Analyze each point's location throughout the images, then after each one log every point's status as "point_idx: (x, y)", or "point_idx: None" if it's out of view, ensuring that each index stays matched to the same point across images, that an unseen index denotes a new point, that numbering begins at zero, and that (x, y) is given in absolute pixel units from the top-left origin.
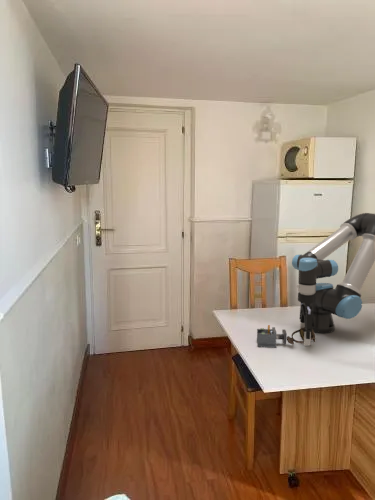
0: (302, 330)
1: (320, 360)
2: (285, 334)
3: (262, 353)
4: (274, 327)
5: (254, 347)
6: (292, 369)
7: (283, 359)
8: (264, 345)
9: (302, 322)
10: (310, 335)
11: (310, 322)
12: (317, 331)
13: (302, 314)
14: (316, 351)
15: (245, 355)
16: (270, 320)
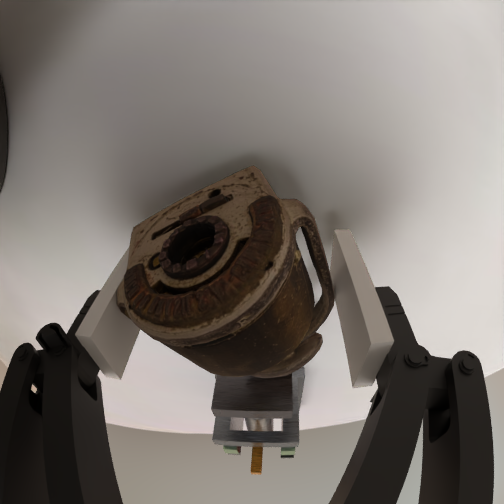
0: (267, 368)
1: (481, 179)
2: (292, 409)
3: (357, 395)
4: (215, 440)
5: (301, 411)
6: (499, 314)
7: (426, 344)
8: (300, 402)
9: (95, 367)
10: (379, 301)
11: (480, 477)
12: (2, 133)
13: (117, 495)
14: (358, 162)
15: (363, 418)
16: (12, 327)
